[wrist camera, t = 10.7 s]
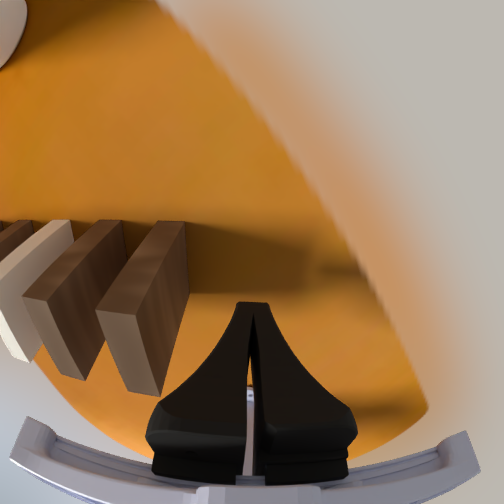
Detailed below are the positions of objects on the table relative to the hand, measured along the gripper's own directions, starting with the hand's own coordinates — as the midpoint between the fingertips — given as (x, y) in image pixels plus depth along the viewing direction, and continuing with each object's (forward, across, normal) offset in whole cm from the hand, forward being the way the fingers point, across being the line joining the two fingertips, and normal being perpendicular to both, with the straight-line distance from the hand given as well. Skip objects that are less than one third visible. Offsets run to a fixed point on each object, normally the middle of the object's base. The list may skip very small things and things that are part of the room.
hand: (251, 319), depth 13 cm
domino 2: (+5, +9, 0) cm, 10 cm away
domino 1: (+5, +5, 0) cm, 7 cm away
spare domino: (+5, +13, 0) cm, 14 cm away
